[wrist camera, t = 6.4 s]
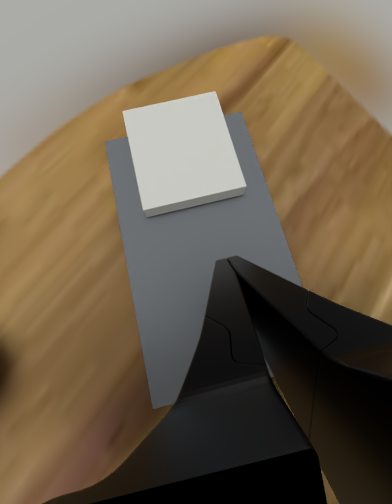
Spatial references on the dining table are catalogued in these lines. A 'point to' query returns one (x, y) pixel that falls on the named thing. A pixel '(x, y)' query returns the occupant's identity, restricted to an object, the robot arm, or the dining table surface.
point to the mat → (190, 257)
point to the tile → (182, 154)
